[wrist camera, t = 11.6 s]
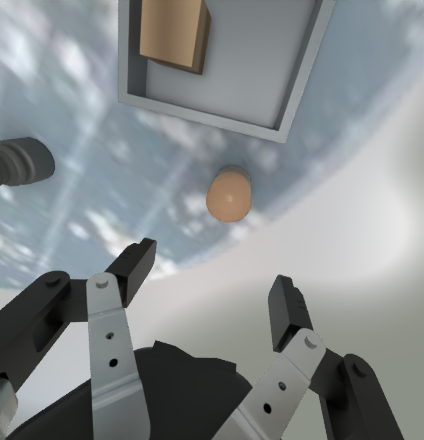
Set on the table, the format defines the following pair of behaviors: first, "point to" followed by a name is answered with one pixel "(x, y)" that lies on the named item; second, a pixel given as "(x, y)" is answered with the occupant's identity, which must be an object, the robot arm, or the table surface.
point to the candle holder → (24, 162)
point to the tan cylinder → (230, 194)
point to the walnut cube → (175, 33)
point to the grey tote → (231, 65)
